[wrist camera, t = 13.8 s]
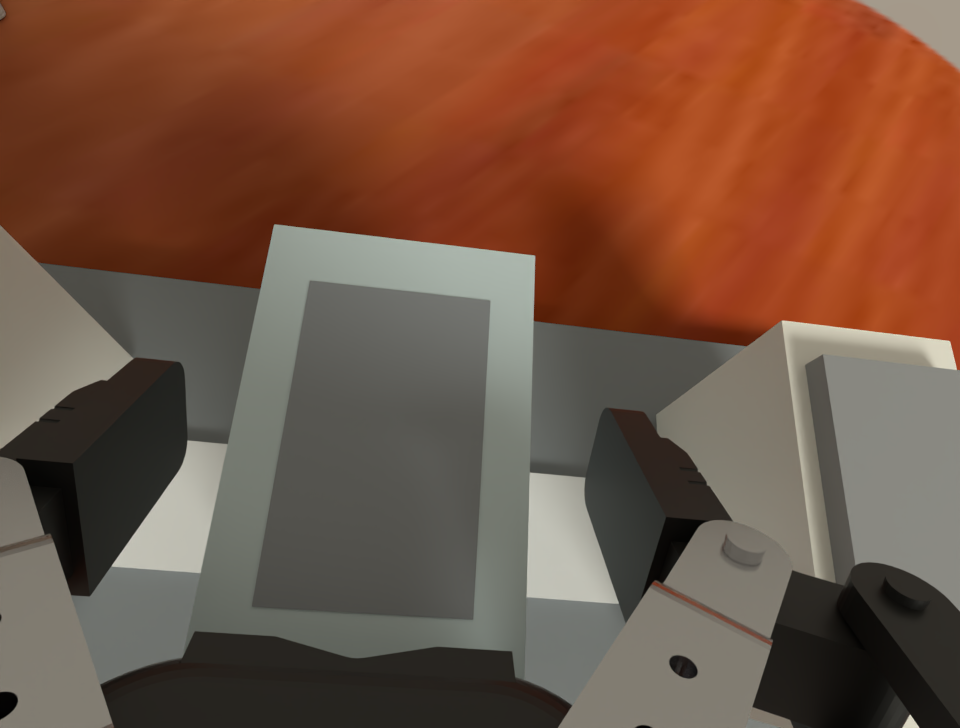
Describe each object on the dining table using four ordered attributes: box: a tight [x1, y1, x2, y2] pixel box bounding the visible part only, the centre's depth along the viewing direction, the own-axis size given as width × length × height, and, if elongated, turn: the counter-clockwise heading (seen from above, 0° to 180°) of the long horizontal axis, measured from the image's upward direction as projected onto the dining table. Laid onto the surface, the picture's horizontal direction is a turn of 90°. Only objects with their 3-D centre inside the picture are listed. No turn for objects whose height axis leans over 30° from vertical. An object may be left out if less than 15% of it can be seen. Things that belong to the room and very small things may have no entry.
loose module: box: [183, 224, 535, 680], centre depth 14 cm, size 4×7×9 cm, turn 176°
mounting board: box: [39, 263, 780, 728], centre depth 19 cm, size 28×14×2 cm, turn 85°
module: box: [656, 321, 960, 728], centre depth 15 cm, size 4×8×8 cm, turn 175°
